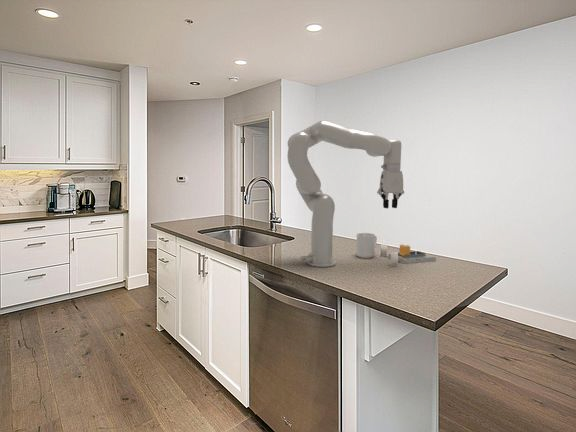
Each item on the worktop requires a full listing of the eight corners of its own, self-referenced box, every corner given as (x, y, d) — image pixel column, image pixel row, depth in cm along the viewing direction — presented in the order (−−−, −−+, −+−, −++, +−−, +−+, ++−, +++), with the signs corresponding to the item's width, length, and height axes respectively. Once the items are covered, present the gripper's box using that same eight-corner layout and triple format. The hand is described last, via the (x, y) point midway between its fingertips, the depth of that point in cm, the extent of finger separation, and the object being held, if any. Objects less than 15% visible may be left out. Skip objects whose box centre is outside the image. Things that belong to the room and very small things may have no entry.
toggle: (404, 256, 172) (404, 245, 171) (399, 254, 176) (399, 243, 175) (409, 255, 173) (410, 245, 172) (404, 253, 176) (405, 243, 176)
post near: (393, 266, 162) (393, 253, 161) (389, 265, 164) (389, 252, 164) (398, 266, 162) (399, 253, 162) (395, 264, 165) (395, 251, 165)
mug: (365, 259, 175) (366, 236, 173) (352, 256, 182) (352, 233, 180) (382, 256, 182) (383, 234, 180) (368, 253, 189) (369, 231, 188)
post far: (382, 256, 180) (383, 244, 180) (379, 255, 183) (379, 243, 183) (387, 256, 181) (388, 244, 181) (384, 255, 184) (385, 243, 183)
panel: (402, 263, 167) (403, 256, 167) (388, 257, 179) (388, 251, 178) (435, 261, 173) (436, 254, 172) (419, 255, 184) (419, 249, 184)
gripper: (380, 167, 160) (378, 209, 163) (412, 168, 165) (410, 208, 168) (371, 167, 167) (369, 207, 170) (402, 168, 173) (400, 206, 175)
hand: (390, 207), depth 169 cm, fingers open, 3 cm apart
